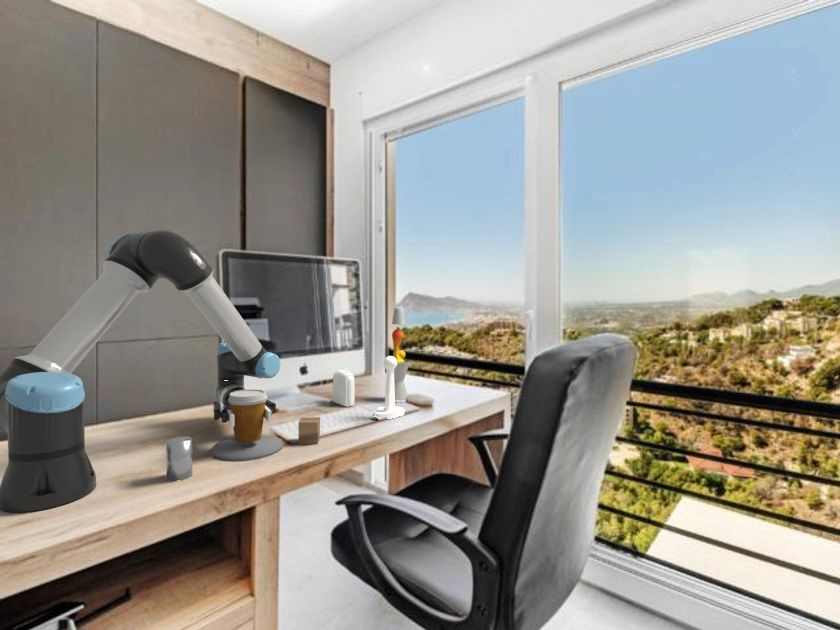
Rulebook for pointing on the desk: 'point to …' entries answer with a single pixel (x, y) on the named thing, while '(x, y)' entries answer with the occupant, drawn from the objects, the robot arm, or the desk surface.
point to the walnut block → (309, 430)
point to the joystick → (389, 392)
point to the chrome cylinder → (179, 458)
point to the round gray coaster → (247, 448)
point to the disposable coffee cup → (248, 414)
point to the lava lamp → (399, 356)
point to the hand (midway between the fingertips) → (251, 418)
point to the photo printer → (344, 388)
